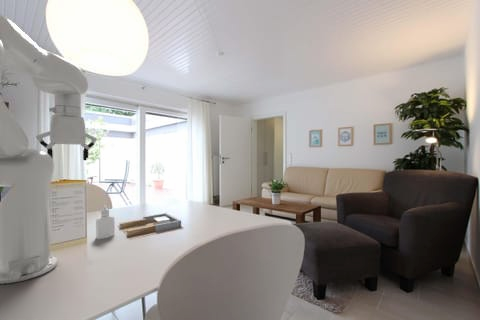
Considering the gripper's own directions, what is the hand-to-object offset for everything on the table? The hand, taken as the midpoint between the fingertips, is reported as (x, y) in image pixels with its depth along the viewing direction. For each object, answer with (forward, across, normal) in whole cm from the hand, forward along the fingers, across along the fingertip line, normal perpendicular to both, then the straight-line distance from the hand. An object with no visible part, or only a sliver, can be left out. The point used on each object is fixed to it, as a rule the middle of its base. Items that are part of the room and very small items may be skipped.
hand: (68, 160), depth 82 cm
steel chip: (+27, +30, -8) cm, 42 cm away
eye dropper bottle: (+28, +10, -9) cm, 31 cm away
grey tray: (+27, +31, -8) cm, 42 cm away
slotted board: (+28, +26, -8) cm, 39 cm away
